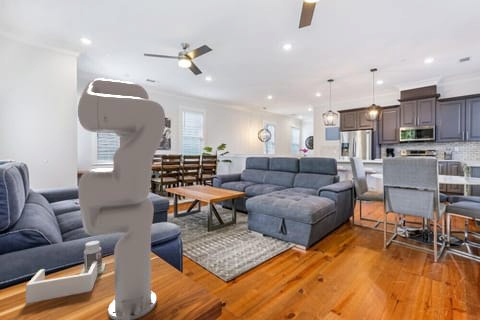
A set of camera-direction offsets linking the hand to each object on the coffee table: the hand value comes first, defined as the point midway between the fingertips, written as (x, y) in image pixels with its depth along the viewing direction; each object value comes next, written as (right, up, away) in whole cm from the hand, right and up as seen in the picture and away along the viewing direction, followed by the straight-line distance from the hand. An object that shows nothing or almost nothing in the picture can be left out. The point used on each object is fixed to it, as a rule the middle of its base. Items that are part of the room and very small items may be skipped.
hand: (130, 193), depth 93 cm
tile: (-12, -28, -5) cm, 31 cm away
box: (-13, -29, -17) cm, 36 cm away
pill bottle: (-12, -28, -6) cm, 31 cm away
